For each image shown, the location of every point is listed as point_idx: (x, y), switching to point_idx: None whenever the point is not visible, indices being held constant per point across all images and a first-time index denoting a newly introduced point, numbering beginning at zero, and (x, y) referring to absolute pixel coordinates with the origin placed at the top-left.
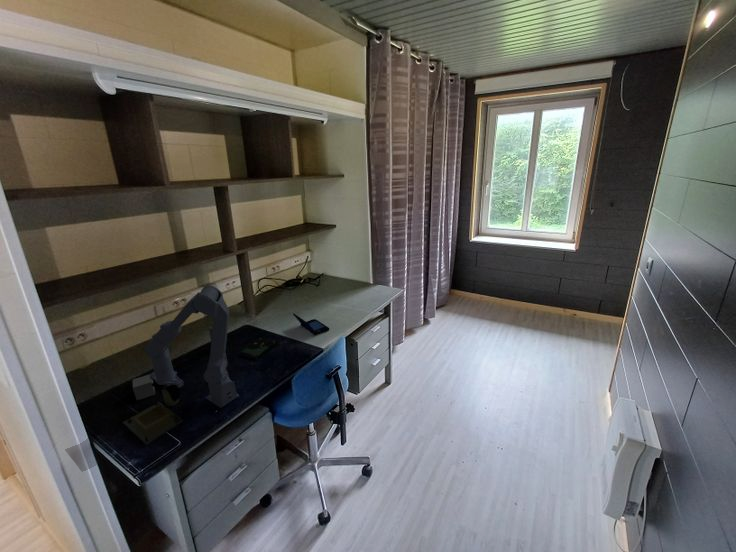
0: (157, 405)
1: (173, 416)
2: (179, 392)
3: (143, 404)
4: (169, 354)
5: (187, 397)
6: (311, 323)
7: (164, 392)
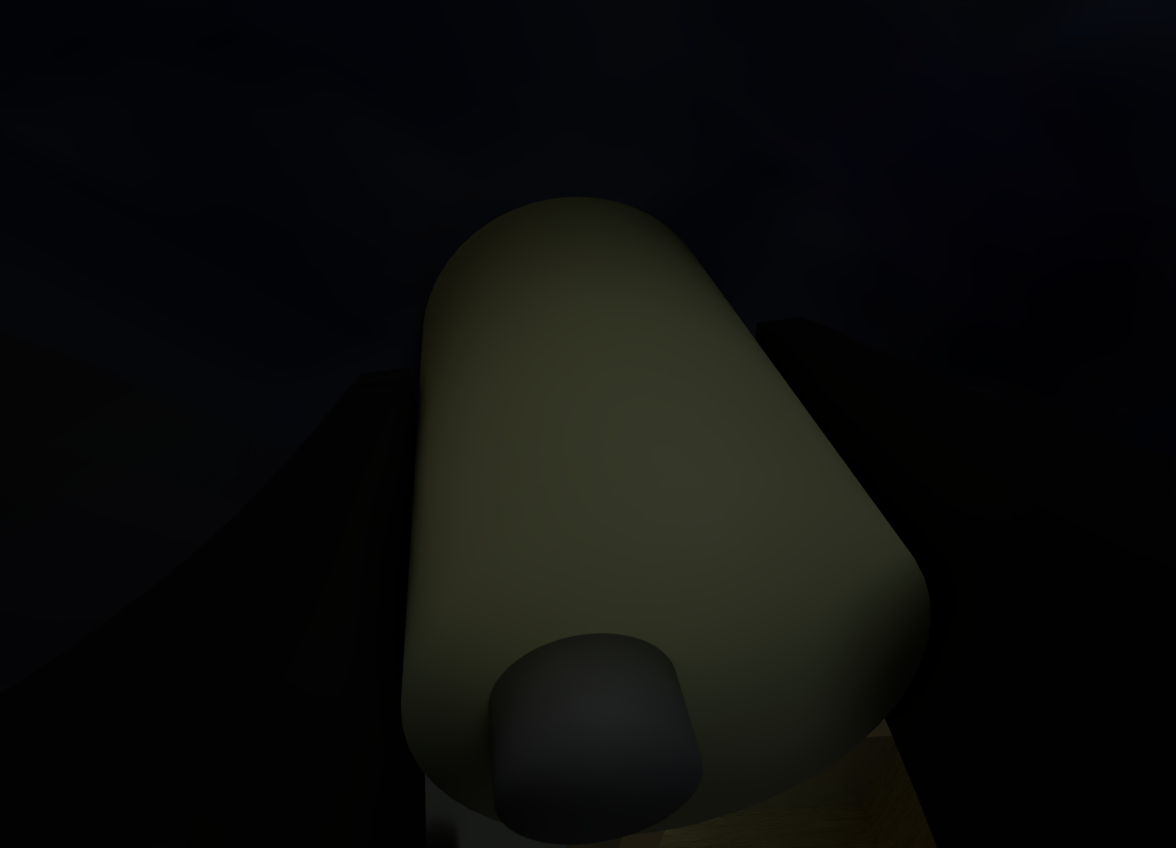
0: None
1: None
2: (944, 390)
3: (91, 627)
4: None
5: (788, 41)
6: None
7: (725, 800)
